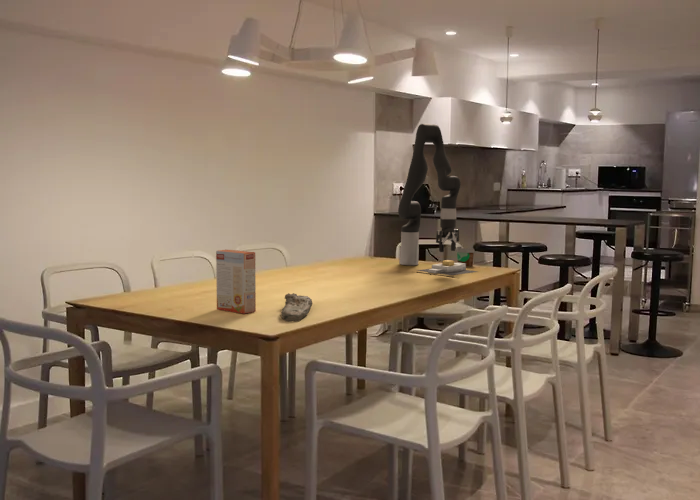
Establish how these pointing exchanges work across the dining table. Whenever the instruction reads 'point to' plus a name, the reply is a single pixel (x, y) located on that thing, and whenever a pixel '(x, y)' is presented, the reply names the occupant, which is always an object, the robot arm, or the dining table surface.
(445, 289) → the dining table surface
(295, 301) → the elongated rock
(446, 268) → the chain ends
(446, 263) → the tan small block
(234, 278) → the cracker box
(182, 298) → the dining table surface
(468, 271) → the mat
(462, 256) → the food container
